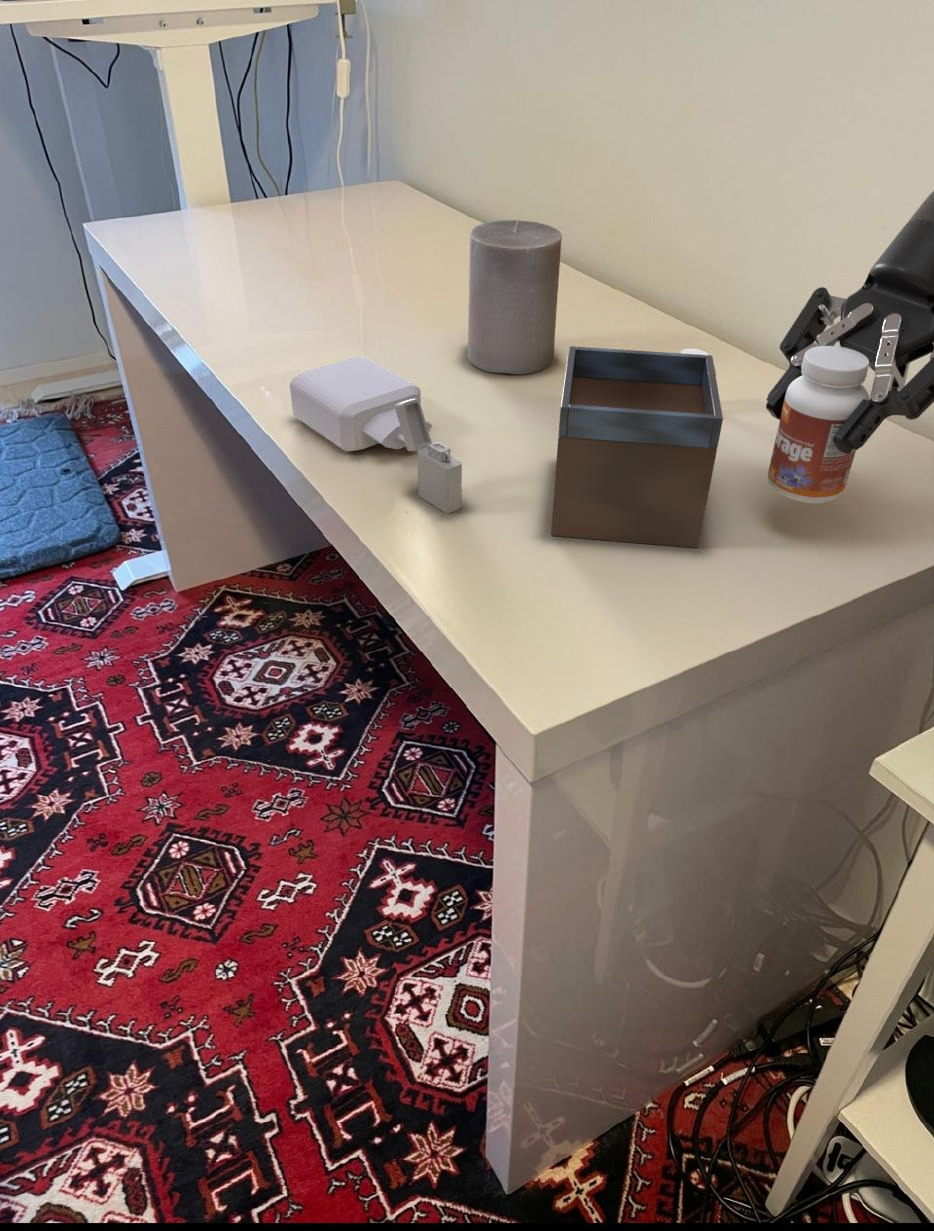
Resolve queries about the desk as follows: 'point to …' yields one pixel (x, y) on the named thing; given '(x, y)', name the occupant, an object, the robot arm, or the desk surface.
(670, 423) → the cube pen cup
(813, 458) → the pill bottle
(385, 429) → the charger
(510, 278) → the pillar candle
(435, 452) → the lighter
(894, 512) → the desk surface
